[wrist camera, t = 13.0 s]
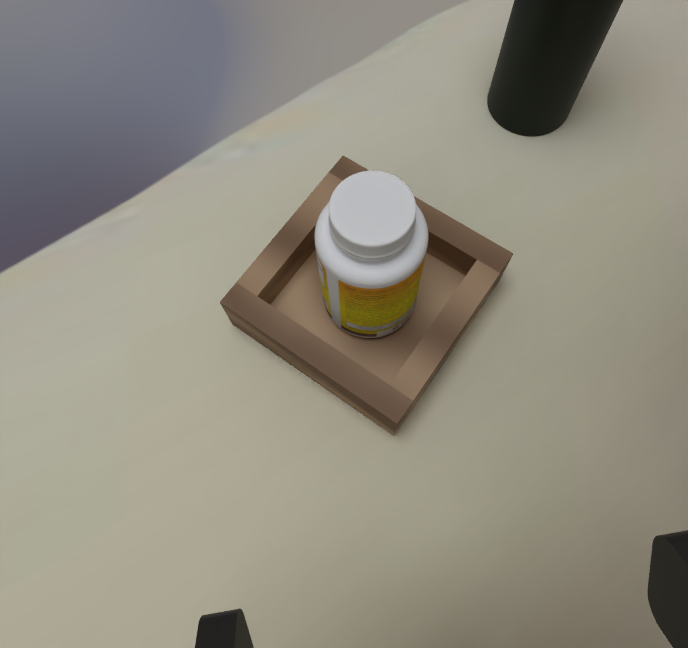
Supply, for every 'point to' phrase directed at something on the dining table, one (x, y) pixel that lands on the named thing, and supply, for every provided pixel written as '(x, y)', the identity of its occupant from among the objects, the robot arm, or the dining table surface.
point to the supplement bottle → (370, 253)
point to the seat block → (352, 351)
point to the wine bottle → (546, 61)
